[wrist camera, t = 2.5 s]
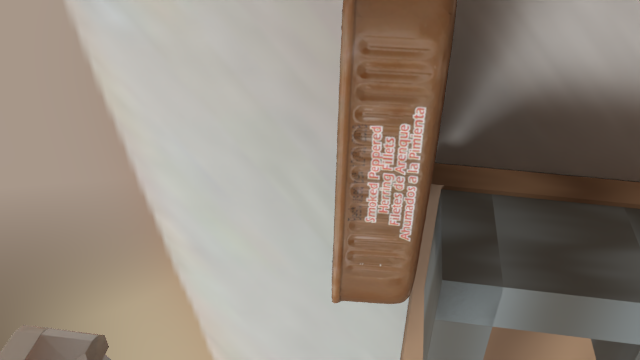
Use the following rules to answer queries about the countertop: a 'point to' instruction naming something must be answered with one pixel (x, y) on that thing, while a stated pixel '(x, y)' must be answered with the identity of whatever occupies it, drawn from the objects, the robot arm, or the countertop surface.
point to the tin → (387, 141)
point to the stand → (526, 268)
